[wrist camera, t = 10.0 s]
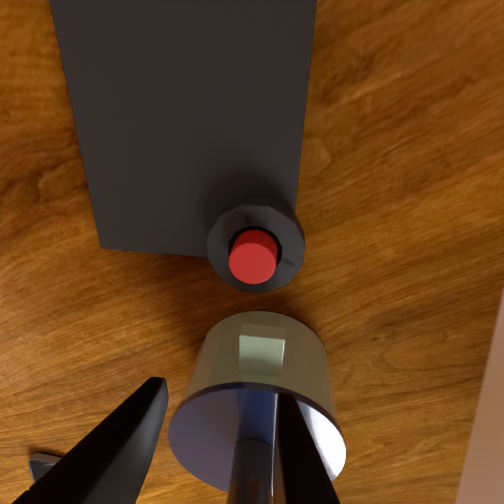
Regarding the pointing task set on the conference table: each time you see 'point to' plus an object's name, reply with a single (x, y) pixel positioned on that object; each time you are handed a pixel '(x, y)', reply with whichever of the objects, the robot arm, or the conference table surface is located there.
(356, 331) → the conference table surface
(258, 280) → the button
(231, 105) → the control block
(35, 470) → the smartphone
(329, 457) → the lid
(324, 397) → the pot
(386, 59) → the conference table surface
